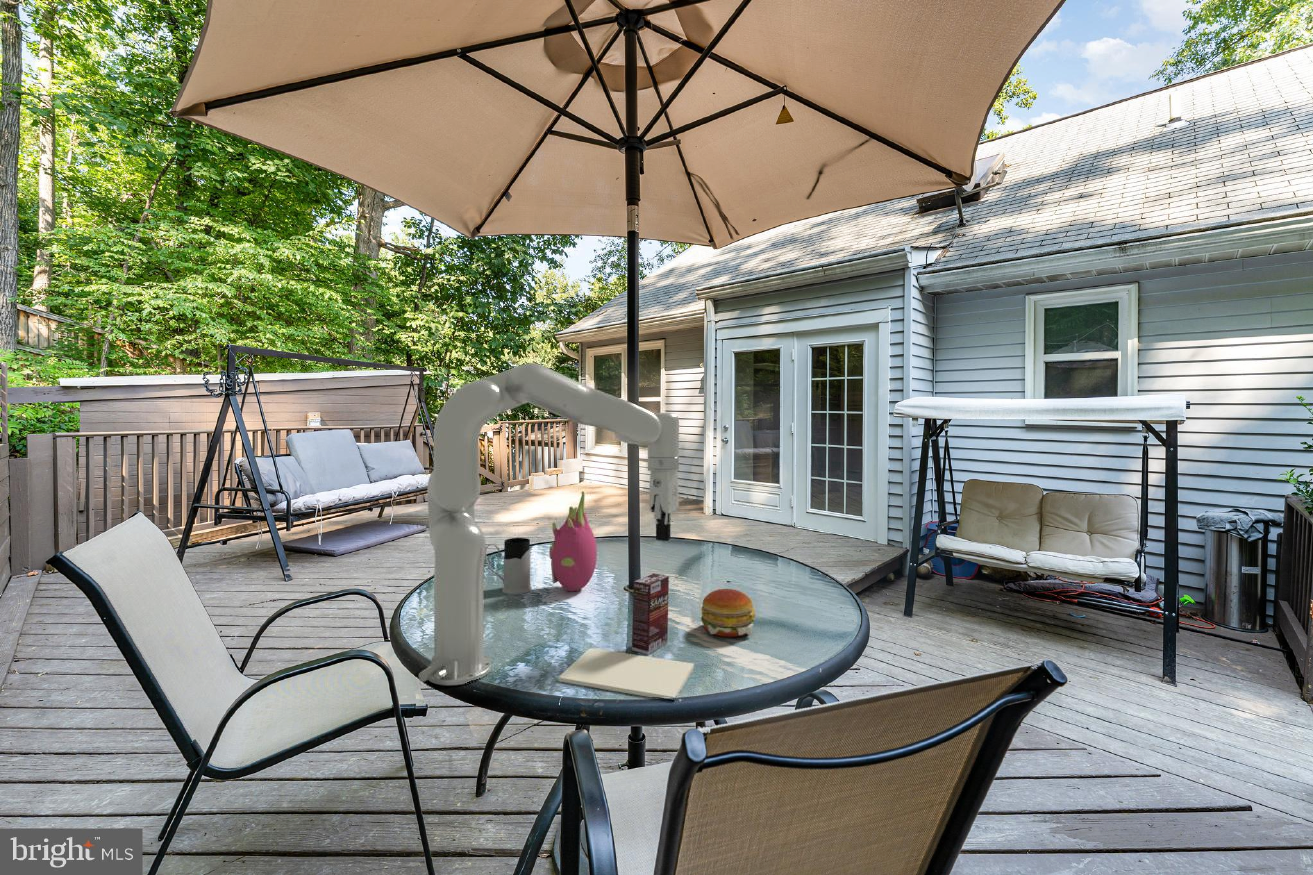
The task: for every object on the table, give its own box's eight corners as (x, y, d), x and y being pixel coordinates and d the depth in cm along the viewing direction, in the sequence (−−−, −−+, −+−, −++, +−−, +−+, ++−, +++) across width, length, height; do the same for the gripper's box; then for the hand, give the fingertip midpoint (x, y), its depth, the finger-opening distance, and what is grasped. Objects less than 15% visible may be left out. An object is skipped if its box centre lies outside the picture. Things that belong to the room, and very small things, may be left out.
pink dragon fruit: (561, 580, 180) (561, 487, 179) (602, 582, 178) (603, 488, 177) (542, 598, 162) (542, 494, 161) (588, 601, 160) (588, 496, 159)
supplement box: (649, 656, 124) (649, 584, 123) (631, 650, 127) (631, 581, 126) (669, 642, 131) (670, 575, 131) (651, 638, 134) (652, 572, 133)
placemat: (674, 701, 104) (674, 697, 104) (558, 681, 112) (558, 677, 112) (693, 667, 119) (694, 663, 119) (589, 651, 126) (589, 647, 126)
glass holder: (527, 594, 166) (528, 543, 165) (479, 593, 166) (480, 543, 165) (534, 585, 174) (534, 537, 174) (489, 584, 175) (489, 536, 174)
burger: (723, 616, 149) (724, 579, 149) (766, 631, 140) (767, 591, 139) (689, 629, 140) (690, 590, 139) (732, 646, 130) (733, 603, 130)
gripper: (669, 467, 127) (669, 548, 128) (686, 462, 141) (686, 534, 142) (638, 466, 129) (638, 545, 130) (657, 461, 143) (657, 532, 144)
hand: (663, 539), depth 136 cm, fingers closed
